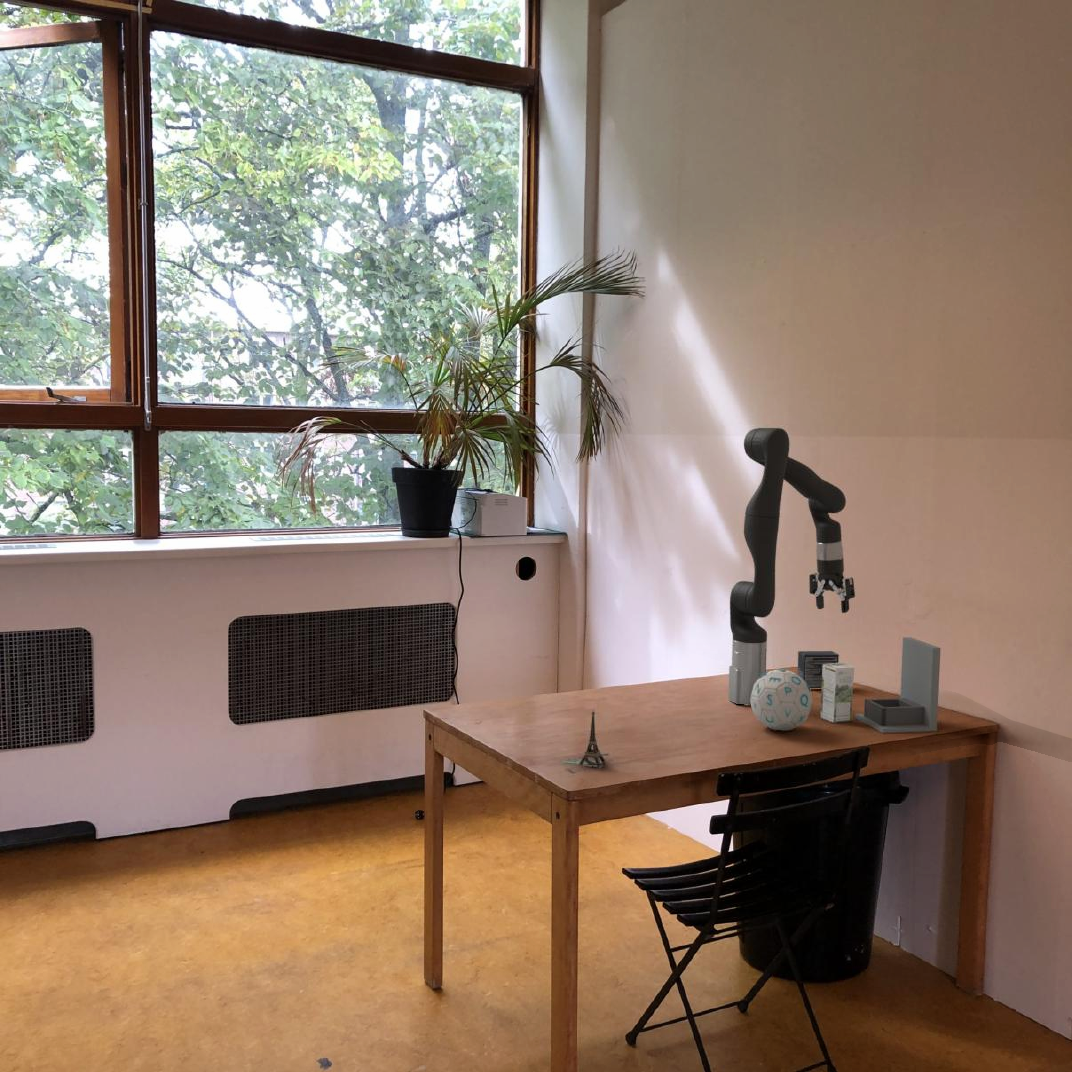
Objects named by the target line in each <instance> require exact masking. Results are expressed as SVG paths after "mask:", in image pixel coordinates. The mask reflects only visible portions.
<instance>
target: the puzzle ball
mask: <svg viewBox="0 0 1072 1072" xmlns="http://www.w3.org/2000/svg"><path fill="white" fill-rule="evenodd" d="M751 693H752V694H751V699H750V703H751V707H750V708H751V709H752V713H753V715H754V716H755V717H756V719H757V720H758V721H759V722H760V723H761V724H763V725H764V726H766V727H767V728H769V729H770V730H771V729H772V730H774V731H776V730H781V731H784V732H785V731H792V730H794V729H795V728H798V727H799V726H800V725H802V724H803V723H804V722H806V720H807V719H808V718H809V715H810V713H811V710H812V706H813V694H812V690H810V688H809V686H808V684H807V683H806V682H805V681H804V680H803V678H802V677H801V676H799V675H798V673H797V674H796V673H795V672H793V671H791V670H787V669H773V670H770V671H766V673H765V674H763V675H762V676H760V677H759V679H758V680H757V681H756V683H755V684H754V686H753V688H752V691H751Z"/></svg>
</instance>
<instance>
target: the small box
mask: <svg viewBox="0 0 1072 1072" xmlns="http://www.w3.org/2000/svg"><path fill="white" fill-rule="evenodd" d="M839 658H840V654H838V653H837V652H835V651H833V650H805V651H803V650H802V651H801V650H800V651H797V675H799V676H801V677H802V678H803V680H804V681H805V682H806V683H807V684H808V686H809V688H822V669H823V664H831V663H840V662H839Z"/></svg>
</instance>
